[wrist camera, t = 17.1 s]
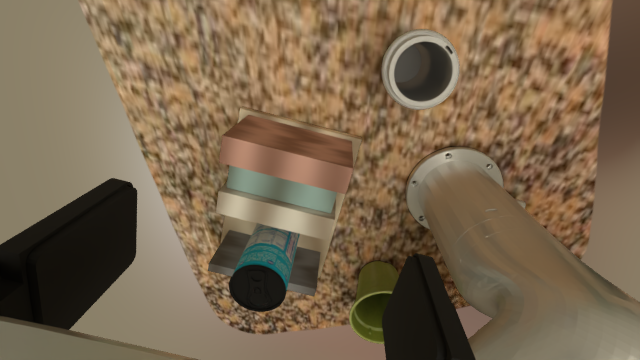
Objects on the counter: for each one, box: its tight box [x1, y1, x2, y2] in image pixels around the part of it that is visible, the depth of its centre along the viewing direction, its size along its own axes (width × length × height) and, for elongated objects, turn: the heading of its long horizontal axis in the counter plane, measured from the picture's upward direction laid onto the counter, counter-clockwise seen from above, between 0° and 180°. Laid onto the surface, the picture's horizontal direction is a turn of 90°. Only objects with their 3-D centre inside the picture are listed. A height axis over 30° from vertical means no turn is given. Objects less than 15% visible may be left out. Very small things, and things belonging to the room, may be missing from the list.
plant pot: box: [349, 261, 399, 344], centre depth 48 cm, size 9×9×9 cm
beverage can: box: [229, 223, 300, 312], centre depth 41 cm, size 6×6×15 cm
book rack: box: [208, 107, 362, 296], centre depth 43 cm, size 16×23×11 cm
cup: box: [382, 29, 460, 110], centre depth 34 cm, size 7×7×12 cm
